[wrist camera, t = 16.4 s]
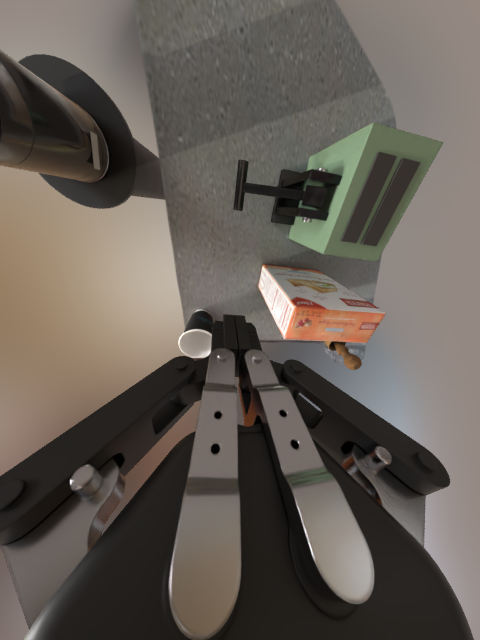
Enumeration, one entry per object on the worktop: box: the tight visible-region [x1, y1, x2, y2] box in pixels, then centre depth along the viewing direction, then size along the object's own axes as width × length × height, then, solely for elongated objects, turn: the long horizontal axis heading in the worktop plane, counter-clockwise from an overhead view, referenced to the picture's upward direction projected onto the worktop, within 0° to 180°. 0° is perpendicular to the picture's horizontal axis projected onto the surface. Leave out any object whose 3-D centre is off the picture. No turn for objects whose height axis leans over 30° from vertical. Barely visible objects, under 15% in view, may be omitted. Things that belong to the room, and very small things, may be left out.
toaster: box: [288, 122, 443, 262], centre depth 28 cm, size 9×13×15 cm
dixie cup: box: [179, 309, 213, 358], centre depth 41 cm, size 8×8×11 cm
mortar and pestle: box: [324, 341, 362, 370], centre depth 42 cm, size 7×6×18 cm
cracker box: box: [258, 264, 386, 343], centre depth 33 cm, size 14×6×21 cm, turn 82°
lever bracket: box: [271, 168, 342, 225], centre depth 28 cm, size 5×8×13 cm, turn 172°
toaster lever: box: [234, 160, 328, 211], centre depth 25 cm, size 13×6×2 cm, turn 82°
